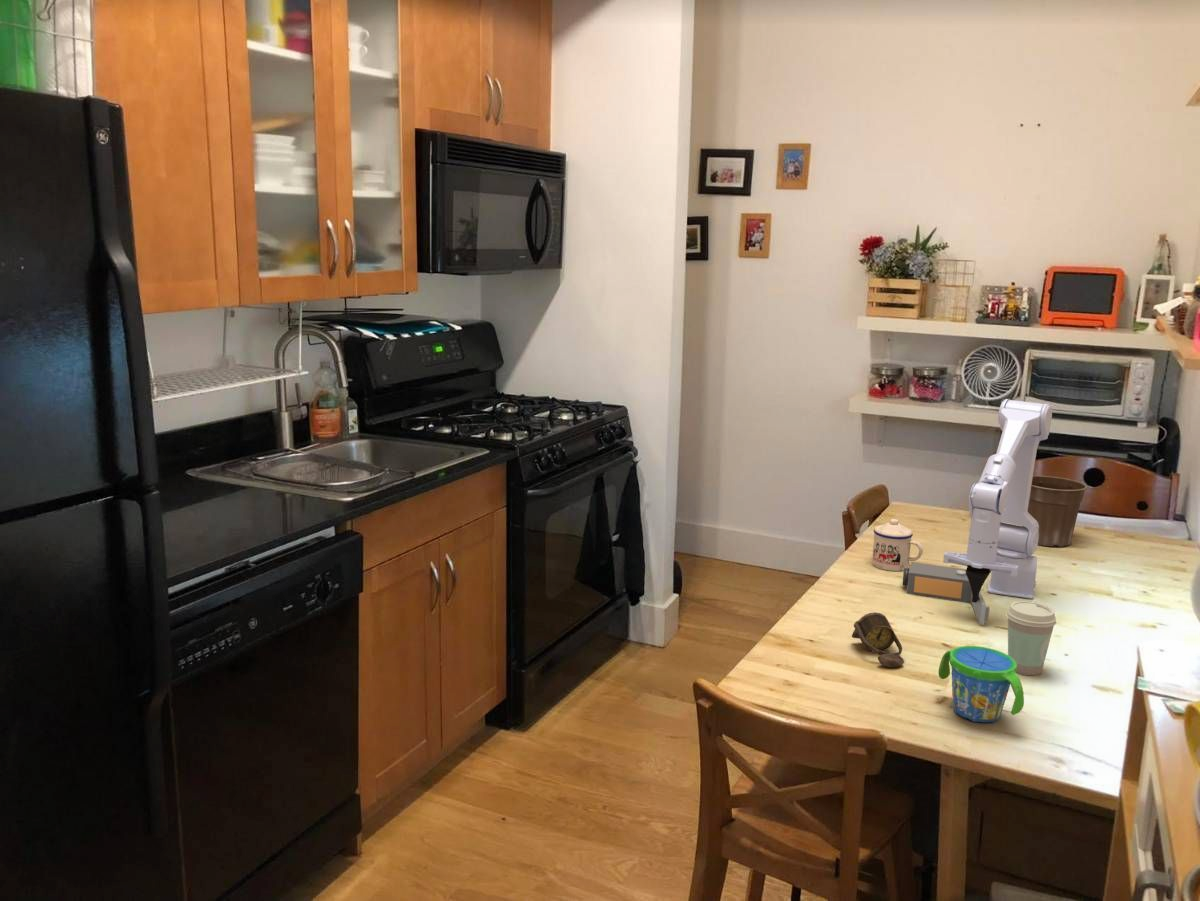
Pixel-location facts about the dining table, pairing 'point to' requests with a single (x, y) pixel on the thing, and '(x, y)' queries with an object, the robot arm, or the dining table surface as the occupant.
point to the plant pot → (1055, 508)
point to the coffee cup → (1029, 635)
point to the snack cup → (981, 682)
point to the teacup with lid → (893, 546)
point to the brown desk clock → (878, 638)
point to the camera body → (937, 582)
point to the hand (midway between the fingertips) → (975, 601)
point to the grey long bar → (980, 609)
